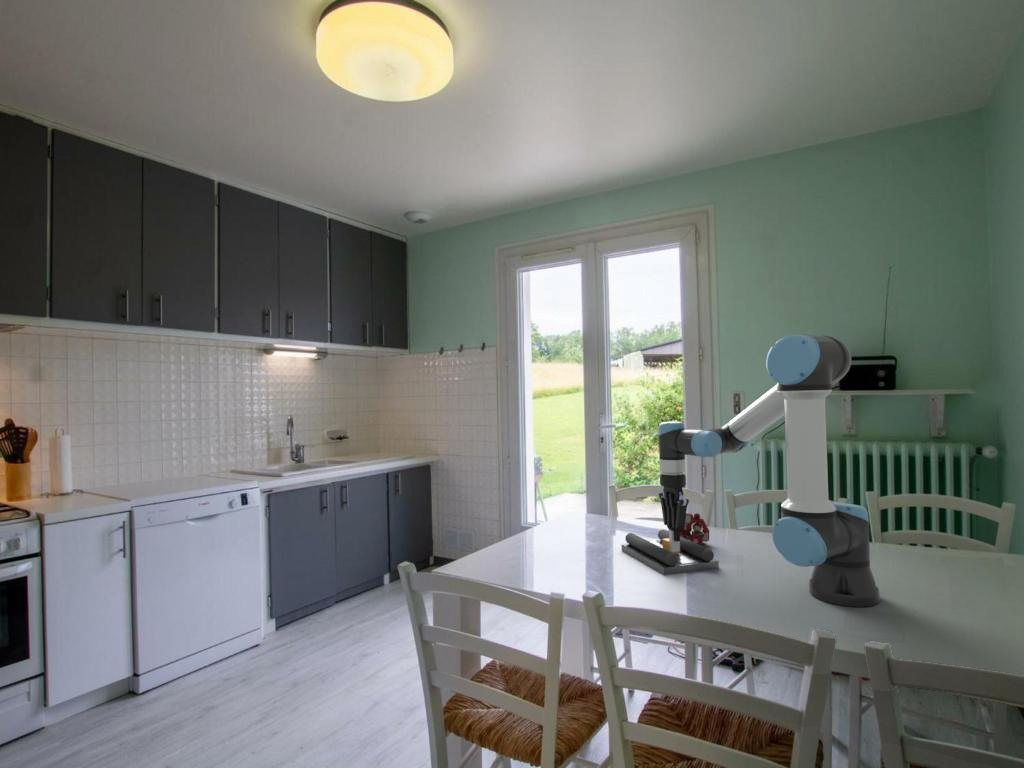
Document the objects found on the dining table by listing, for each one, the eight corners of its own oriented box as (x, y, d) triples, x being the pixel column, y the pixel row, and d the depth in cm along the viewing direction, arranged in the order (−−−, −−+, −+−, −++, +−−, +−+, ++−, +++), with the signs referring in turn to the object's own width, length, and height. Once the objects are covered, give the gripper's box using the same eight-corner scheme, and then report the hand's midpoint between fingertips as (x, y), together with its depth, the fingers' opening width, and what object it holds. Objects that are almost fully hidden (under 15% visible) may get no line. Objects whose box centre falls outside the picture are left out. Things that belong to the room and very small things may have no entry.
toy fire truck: (708, 548, 183) (707, 516, 183) (669, 544, 188) (668, 513, 189) (710, 543, 189) (709, 512, 189) (673, 539, 195) (672, 509, 195)
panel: (718, 567, 163) (718, 560, 163) (664, 575, 158) (663, 567, 158) (670, 544, 188) (669, 538, 188) (621, 550, 183) (621, 543, 183)
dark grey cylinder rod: (680, 566, 158) (679, 554, 159) (669, 568, 158) (668, 555, 158) (633, 542, 185) (633, 531, 185) (623, 543, 184) (623, 532, 184)
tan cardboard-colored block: (679, 553, 170) (679, 540, 170) (667, 554, 169) (667, 541, 169) (674, 550, 173) (673, 537, 173) (662, 551, 172) (662, 538, 172)
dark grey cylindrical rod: (716, 562, 162) (716, 549, 162) (705, 563, 161) (705, 551, 161) (665, 538, 188) (665, 528, 188) (656, 539, 187) (655, 529, 187)
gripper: (696, 475, 164) (698, 555, 163) (671, 469, 176) (673, 544, 176) (673, 476, 162) (675, 558, 161) (650, 470, 174) (652, 546, 174)
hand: (674, 550), depth 169 cm, fingers closed
